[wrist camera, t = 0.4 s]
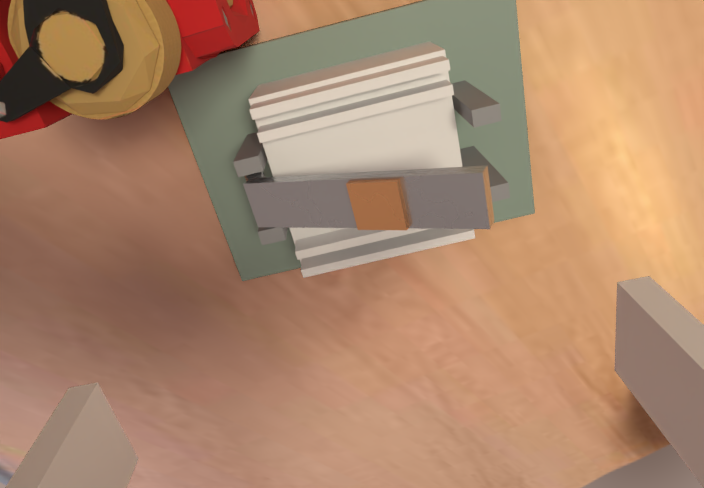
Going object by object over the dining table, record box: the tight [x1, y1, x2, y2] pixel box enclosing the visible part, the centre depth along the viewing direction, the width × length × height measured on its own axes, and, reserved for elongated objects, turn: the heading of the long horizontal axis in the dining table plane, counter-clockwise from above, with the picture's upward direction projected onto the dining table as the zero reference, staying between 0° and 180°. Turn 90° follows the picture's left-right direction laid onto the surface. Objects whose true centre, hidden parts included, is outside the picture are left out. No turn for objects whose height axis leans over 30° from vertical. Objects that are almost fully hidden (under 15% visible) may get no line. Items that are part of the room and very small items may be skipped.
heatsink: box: [168, 0, 535, 281], centre depth 35 cm, size 24×17×9 cm
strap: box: [243, 165, 494, 230], centre depth 30 cm, size 15×3×2 cm
